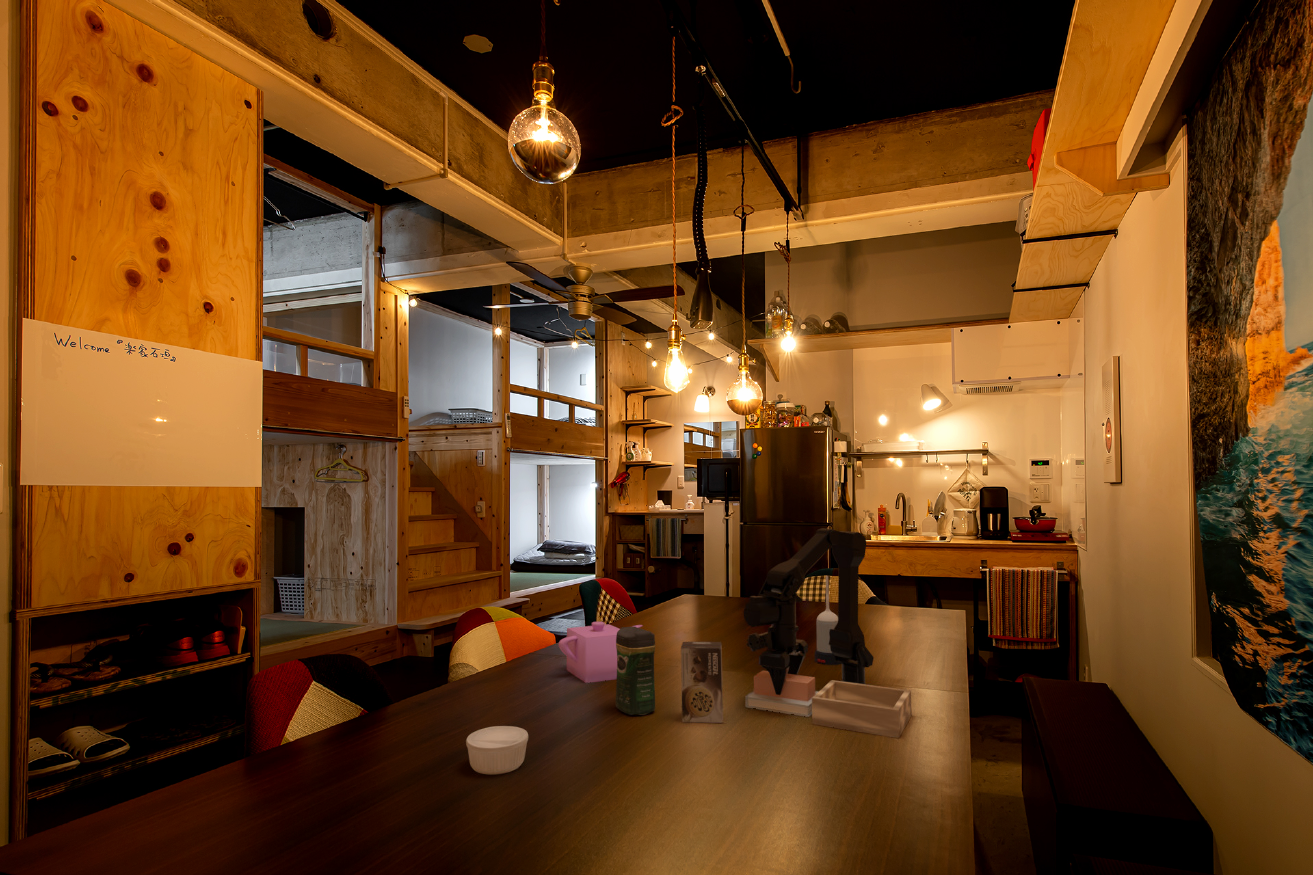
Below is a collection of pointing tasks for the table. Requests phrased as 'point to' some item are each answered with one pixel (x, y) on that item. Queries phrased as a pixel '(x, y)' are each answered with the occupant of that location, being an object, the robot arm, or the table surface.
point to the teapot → (591, 652)
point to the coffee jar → (635, 671)
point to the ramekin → (497, 749)
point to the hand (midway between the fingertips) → (784, 689)
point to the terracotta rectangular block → (786, 686)
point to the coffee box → (701, 682)
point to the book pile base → (778, 700)
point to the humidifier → (825, 633)
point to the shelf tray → (862, 708)
